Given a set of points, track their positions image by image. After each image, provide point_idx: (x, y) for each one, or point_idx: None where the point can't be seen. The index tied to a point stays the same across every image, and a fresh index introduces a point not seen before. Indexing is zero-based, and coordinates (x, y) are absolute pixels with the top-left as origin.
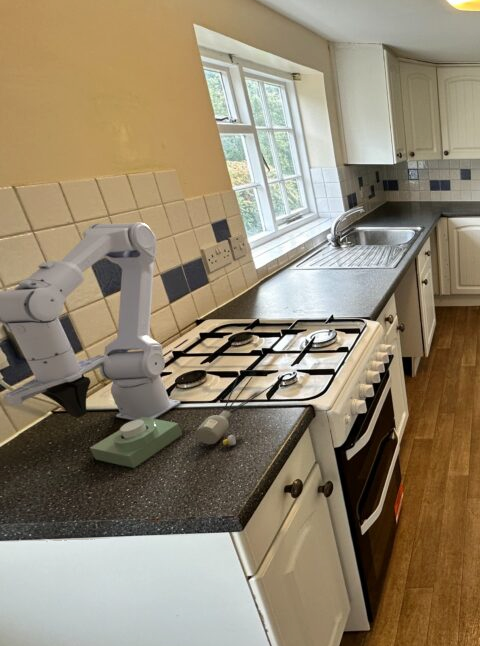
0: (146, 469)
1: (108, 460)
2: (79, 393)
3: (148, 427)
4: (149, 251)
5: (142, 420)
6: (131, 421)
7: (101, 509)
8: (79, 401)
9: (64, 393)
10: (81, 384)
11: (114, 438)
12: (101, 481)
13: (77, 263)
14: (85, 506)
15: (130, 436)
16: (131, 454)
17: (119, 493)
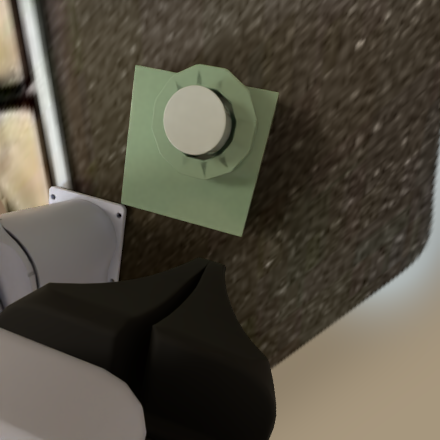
0: (284, 61)
1: (256, 184)
2: (156, 298)
3: None
4: None
5: (166, 105)
6: (174, 142)
7: (430, 53)
8: (185, 285)
9: (235, 353)
10: (95, 308)
11: (233, 163)
12: (320, 148)
13: None
14: (410, 110)
15: (227, 110)
16: (270, 91)
17: (372, 56)
